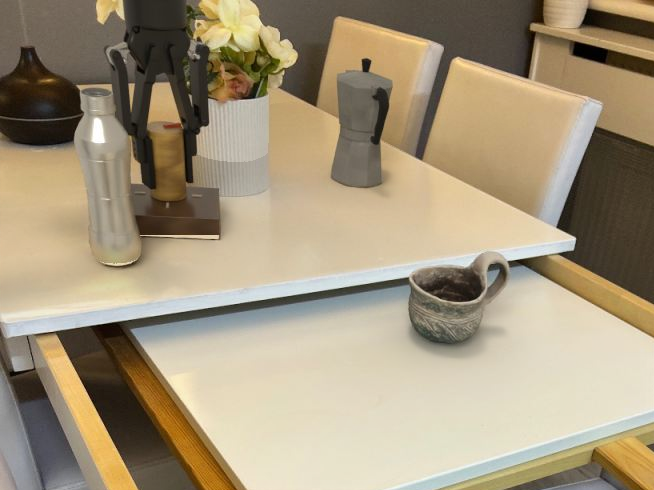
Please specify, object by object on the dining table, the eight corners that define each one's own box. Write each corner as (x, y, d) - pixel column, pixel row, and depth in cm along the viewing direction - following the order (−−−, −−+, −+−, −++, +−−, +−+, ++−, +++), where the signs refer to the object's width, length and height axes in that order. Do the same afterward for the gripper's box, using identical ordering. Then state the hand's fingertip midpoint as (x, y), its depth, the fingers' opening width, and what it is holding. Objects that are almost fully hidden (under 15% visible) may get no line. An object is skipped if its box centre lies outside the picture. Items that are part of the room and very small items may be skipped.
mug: (386, 322, 97) (396, 245, 90) (465, 304, 103) (480, 230, 96) (431, 361, 92) (446, 282, 85) (512, 340, 98) (531, 264, 91)
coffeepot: (316, 164, 135) (323, 46, 123) (367, 162, 138) (377, 47, 126) (349, 199, 125) (359, 75, 113) (402, 196, 128) (418, 75, 116)
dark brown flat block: (114, 235, 106) (112, 212, 104) (122, 200, 115) (120, 178, 113) (219, 240, 109) (219, 217, 107) (219, 205, 118) (219, 184, 115)
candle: (160, 203, 108) (154, 132, 102) (144, 190, 111) (137, 120, 105) (193, 198, 111) (189, 128, 105) (176, 185, 113) (171, 117, 107)
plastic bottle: (96, 275, 98) (70, 102, 84) (87, 251, 102) (61, 83, 89) (148, 270, 100) (131, 101, 87) (138, 247, 104) (120, 83, 91)
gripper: (205, -21, 101) (211, 165, 116) (66, -20, 91) (94, 182, 107) (235, -7, 97) (237, 183, 112) (93, -5, 87) (118, 202, 103)
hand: (167, 182), depth 110 cm, fingers closed on candle, 5 cm apart
